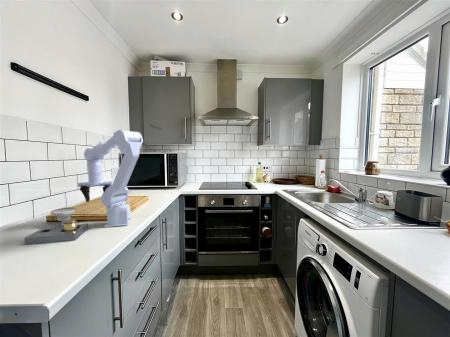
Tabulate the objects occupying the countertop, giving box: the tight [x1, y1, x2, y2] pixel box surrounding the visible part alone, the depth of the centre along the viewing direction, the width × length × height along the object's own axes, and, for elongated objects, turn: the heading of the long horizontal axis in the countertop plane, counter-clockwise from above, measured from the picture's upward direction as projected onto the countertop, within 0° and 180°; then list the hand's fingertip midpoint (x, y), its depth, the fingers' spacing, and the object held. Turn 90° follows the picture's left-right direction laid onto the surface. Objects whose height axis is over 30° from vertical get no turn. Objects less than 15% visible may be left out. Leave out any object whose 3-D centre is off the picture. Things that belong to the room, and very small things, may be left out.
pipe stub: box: [63, 218, 78, 232], centre depth 83 cm, size 4×4×6 cm
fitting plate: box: [24, 222, 90, 246], centre depth 82 cm, size 16×12×3 cm
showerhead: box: [50, 206, 77, 225], centre depth 96 cm, size 9×7×10 cm
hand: (96, 201), depth 101 cm, fingers open, 7 cm apart
